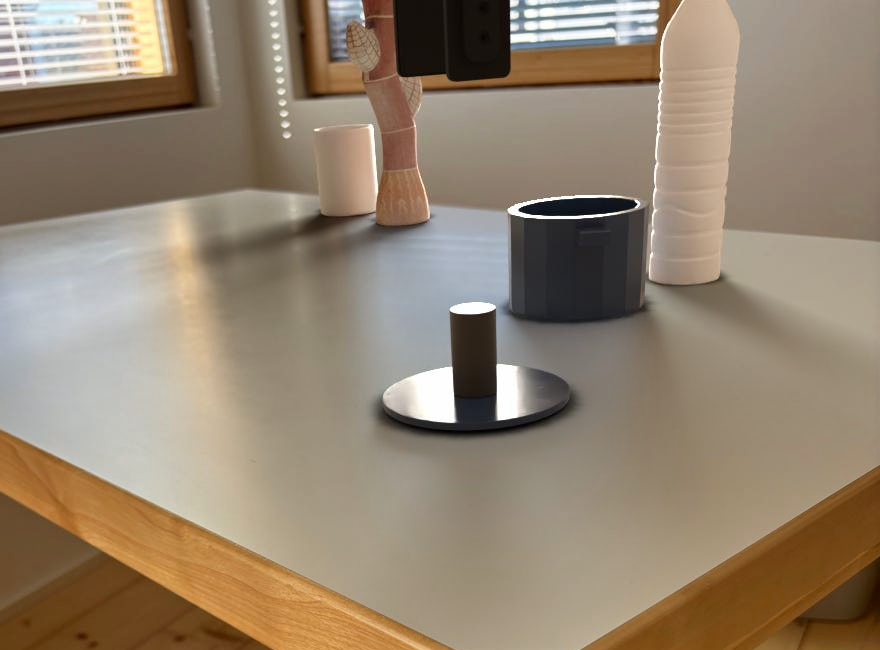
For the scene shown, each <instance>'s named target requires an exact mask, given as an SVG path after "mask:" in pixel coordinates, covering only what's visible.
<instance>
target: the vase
mask: <svg viewBox="0 0 880 650" xmlns="http://www.w3.org/2000/svg"><path fill="white" fill-rule="evenodd" d="M361 5H362V9H363V16H364V25H363V24H362V23H360V22H359V21H357V20H354V19H353V20H351V21H349V22H348V23H347V24H346V29H345V43H346V44H345V46H346V53H347V57H348V59H349V60H350V62H351V63H352V64H353V65H354V66H355V67H356V68H358V69H359V70H360V71H361V82H362V85H363V88H364V91H365V92H366V96H367V98H368V100H369V103H370V105H371V108H372V110H373V113H374V115H375V119H376V122H377V125H378V129H379V131H380V136H381V147H382V148H381V149H382V173H381V176H380V180H379V185H378V194H377V201H376V211H375V221H376V224H377V225H381V226H384V227H385V226H386V227H388V226H389V227H391V226H393V227H395V226H398V227H401V226H411V225H417V224H422V223H425V222H428V221H429V220H430V218H431V214H430V213H431V212H430V206H429V199H428V196H427V192H426V187H425V185H424V183H423V179H422V177H421V173H420V169H419V166H418V165H419V164H418V152H417V151H418V150H417V149H418V145H417V142H418V141H417V137H418V135H417V125H416V121H415V117H416V116H417V115H418V113H419V111H420V108H421V105H422V103H423V85H422V80H421V76H420V77H408V78H404V77H400V76H399V75H398V73H397V68H396V51H395V34H394V17H393V0H361Z"/></svg>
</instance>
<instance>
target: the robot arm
mask: <svg viewBox="0 0 880 650" xmlns="http://www.w3.org/2000/svg"><path fill="white" fill-rule="evenodd" d="M393 17H394V34H395V51H396V68H397V73H398V77H399V76H400V77H404V78H408V77H420V78H421V77H429V76H441V75H446V78H447V80H448V81H450V82H451V83H453V82H454V83H461V82H473V81H485V80H495V79H496V80H497V79H504V78H507V77H508V76H509V75H510V74H511V69H512V61H511V60H512V57H511V56H512V55H511V54H512V53H511V52H512V51H511V49H512V48H511V47H512V45H511V44H512V43H511V37H512V36H511V0H393Z"/></svg>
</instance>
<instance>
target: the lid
mask: <svg viewBox="0 0 880 650" xmlns="http://www.w3.org/2000/svg"><path fill="white" fill-rule="evenodd" d="M449 328H450V329H449V330H450V351H451V356H450V357H451V366H450V367H444V368H436V369H433V370H429V371H424V372H420V373H417V374H414V375H410V376H408V377H405V378H403V379H400V380H399V381H397V382H395V383H393V384H391V386H388V388H387V389H385V391H384V393H383V395H382V399H381V403H382V408H383V410H384V411H385V413H386V414H387V415H388V416H390V417H391V418H393V419H394V420H397V421H399V422H401V423H404V424H407V425H411V426H415V427H419V428H426V429H433V430H444V431H482V430H483V431H484V430H494V429H502V428H503V429H504V428H508V427H515V426H520V425H523V424H524V425H525V424H528V423H531V422H536V421H538V420H541V419H544V418H547V417H549V416H552V415H553V414H555V413H558V412H559V411H560V410H562V409H563V408H564V407H565V406H566V405H567V404H568V403H569V400H570V396H571V388H570V385H569V384H568V382H567V381H566V380H565V379H563V378H562V377H560V376H558V375H557V374H554V373H552V372H549V371H545V370H542V369H537V368H534V367H528V366H520V365H510V364H498V345H497V344H498V343H497V341H498V340H497V307H496V305H494V304H492V303H485V302H467V303H461V304H457V305H454V306H452V307H451V308H450V309H449Z"/></svg>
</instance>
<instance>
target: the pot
mask: <svg viewBox="0 0 880 650" xmlns="http://www.w3.org/2000/svg"><path fill="white" fill-rule="evenodd" d="M649 218H650V203H649V202H648V201H646V200H645V199H644V198H643V199H642V198H639V197H638V198H637V197H631V196H623V195H575V196H572V195H571V196H561V197H559V196H558V197H551V198H543V199H537V200H531V201H527V202H523V203H518V204H515V205H514V206H511V207H510V208H508V209H507V243H508V244H507V251H508V252H507V255H508V257H507V258H508V259H507V261H508V305H509V311H510V312H511V313H512V314H513V315H515V316H517V317H520V318H523V319H527V320H531V321H538V322H548V323H587V322H599V321H607V320H612V319H616V318H622V317H625V316H628V315H631V314H633V313H636V312H638V311H639V310H640V309H642V308H643V306H644V302H645V296H646V295H645V294H646V277H647V276H646V275H647V257H648V256H647V255H648V240H649V239H648V237H649Z"/></svg>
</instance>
